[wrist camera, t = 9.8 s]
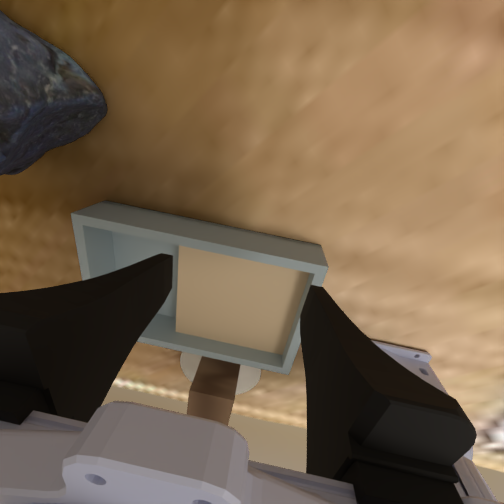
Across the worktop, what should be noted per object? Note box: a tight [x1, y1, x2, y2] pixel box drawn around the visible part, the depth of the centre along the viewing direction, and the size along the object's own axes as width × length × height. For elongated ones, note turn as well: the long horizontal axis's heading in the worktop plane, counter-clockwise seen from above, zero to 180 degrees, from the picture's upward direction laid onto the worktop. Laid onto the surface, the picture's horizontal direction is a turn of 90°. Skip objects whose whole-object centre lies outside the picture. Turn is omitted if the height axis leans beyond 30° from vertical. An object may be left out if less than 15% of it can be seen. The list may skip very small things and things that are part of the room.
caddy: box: [71, 201, 328, 375], centre depth 23 cm, size 20×12×4 cm, turn 80°
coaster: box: [180, 352, 261, 395], centre depth 30 cm, size 10×10×1 cm
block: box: [187, 356, 241, 426], centre depth 27 cm, size 4×4×5 cm
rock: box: [0, 10, 107, 175], centre depth 17 cm, size 16×8×10 cm
